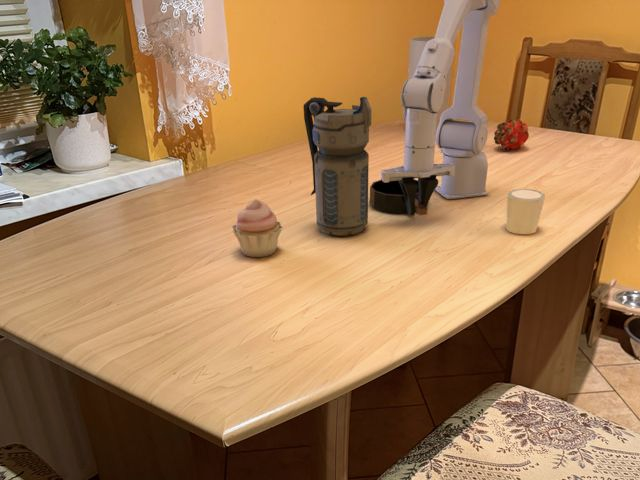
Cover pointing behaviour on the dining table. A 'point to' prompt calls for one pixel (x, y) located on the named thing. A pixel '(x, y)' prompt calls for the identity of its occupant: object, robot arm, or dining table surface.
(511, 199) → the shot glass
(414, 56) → the cylinder vase
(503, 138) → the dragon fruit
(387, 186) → the skillet
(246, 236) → the cupcake
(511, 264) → the dining table surface
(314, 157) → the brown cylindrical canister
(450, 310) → the dining table surface
